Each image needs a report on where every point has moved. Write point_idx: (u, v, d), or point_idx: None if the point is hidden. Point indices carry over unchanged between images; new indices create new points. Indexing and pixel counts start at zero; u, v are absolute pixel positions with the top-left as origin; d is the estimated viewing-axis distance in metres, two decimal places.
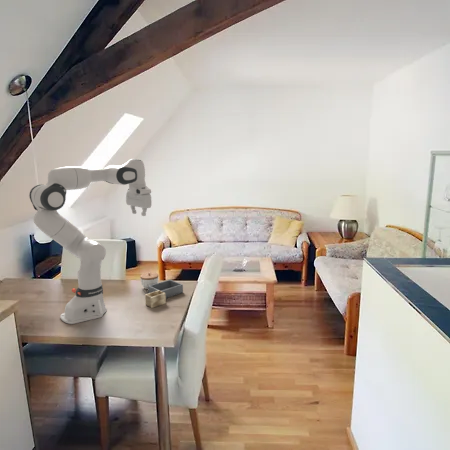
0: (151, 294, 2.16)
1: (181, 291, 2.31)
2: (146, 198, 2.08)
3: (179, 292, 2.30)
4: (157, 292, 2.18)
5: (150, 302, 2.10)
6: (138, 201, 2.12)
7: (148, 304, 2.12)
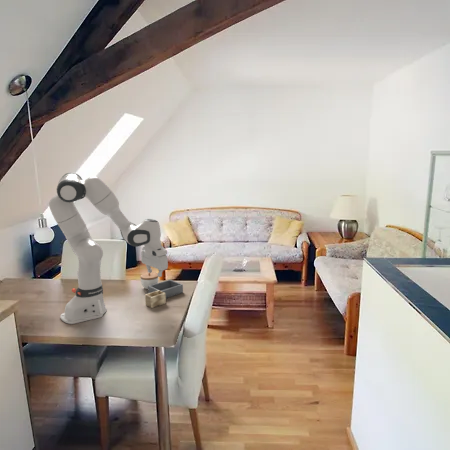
0: (151, 294, 2.16)
1: (181, 291, 2.31)
2: (163, 260, 2.03)
3: (179, 292, 2.30)
4: (157, 292, 2.18)
5: (150, 302, 2.10)
6: (154, 262, 2.07)
7: (148, 304, 2.12)
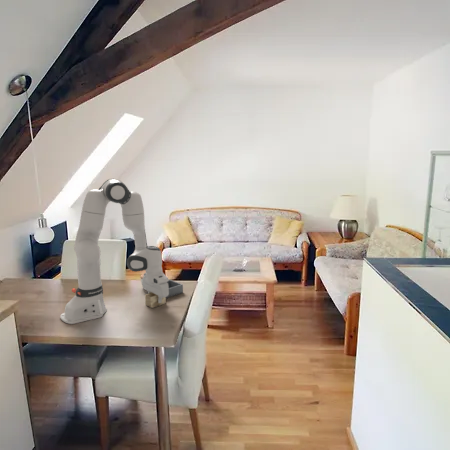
0: (151, 294, 2.16)
1: (181, 291, 2.31)
2: (164, 287, 2.06)
3: (179, 292, 2.30)
4: None
5: (150, 302, 2.10)
6: (155, 289, 2.10)
7: (148, 304, 2.12)
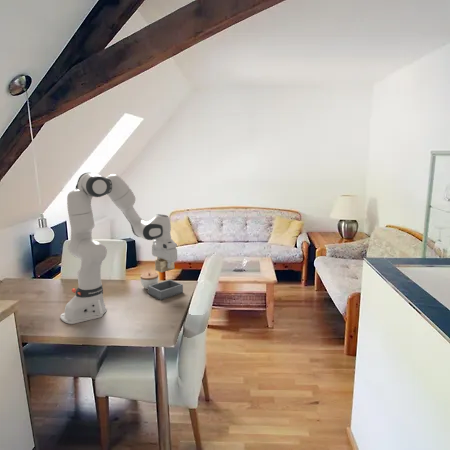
0: (160, 260, 2.28)
1: (181, 291, 2.31)
2: (173, 252, 2.18)
3: (179, 292, 2.30)
4: None
5: (160, 267, 2.23)
6: (165, 255, 2.22)
7: (158, 269, 2.25)
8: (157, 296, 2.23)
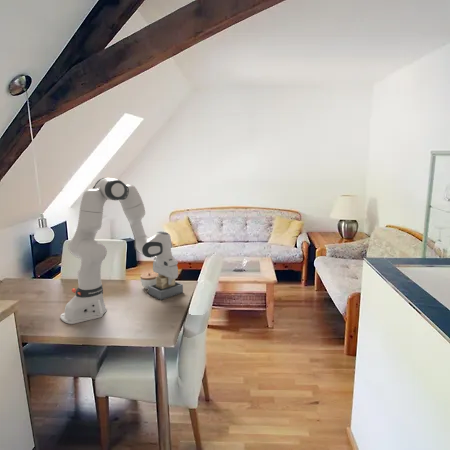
0: (161, 276, 2.30)
1: (181, 291, 2.31)
2: (173, 269, 2.20)
3: (179, 292, 2.30)
4: None
5: (161, 284, 2.25)
6: (165, 272, 2.24)
7: (159, 286, 2.27)
8: (157, 296, 2.23)
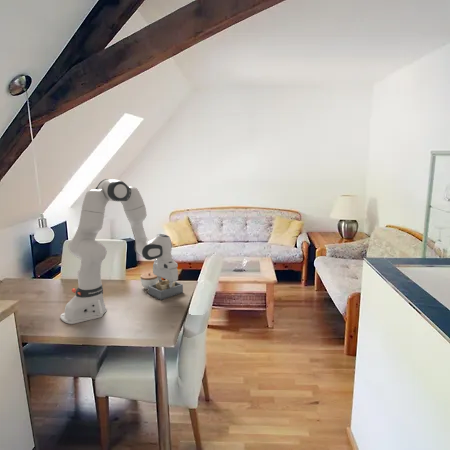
0: (161, 283, 2.31)
1: (181, 291, 2.31)
2: (173, 272, 2.20)
3: (179, 292, 2.30)
4: (167, 281, 2.33)
5: (161, 290, 2.25)
6: (165, 274, 2.24)
7: None
8: (157, 296, 2.23)
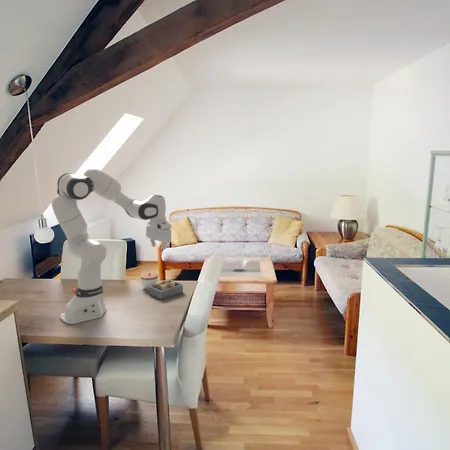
0: (161, 283, 2.31)
1: (181, 291, 2.31)
2: (167, 233, 2.15)
3: (179, 292, 2.30)
4: (167, 281, 2.33)
5: (161, 290, 2.25)
6: (159, 235, 2.19)
7: None
8: (157, 296, 2.23)
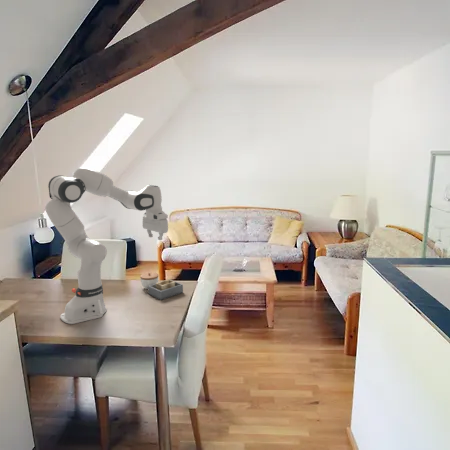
0: (161, 283, 2.31)
1: (181, 291, 2.31)
2: (163, 223, 2.13)
3: (179, 292, 2.30)
4: (167, 281, 2.33)
5: (161, 290, 2.25)
6: (155, 226, 2.17)
7: None
8: (157, 296, 2.23)
